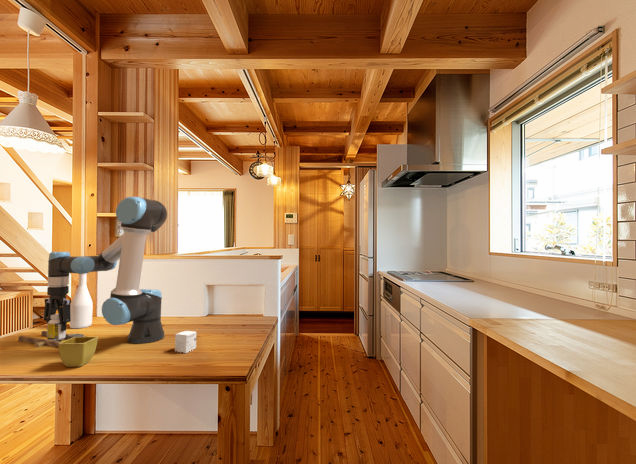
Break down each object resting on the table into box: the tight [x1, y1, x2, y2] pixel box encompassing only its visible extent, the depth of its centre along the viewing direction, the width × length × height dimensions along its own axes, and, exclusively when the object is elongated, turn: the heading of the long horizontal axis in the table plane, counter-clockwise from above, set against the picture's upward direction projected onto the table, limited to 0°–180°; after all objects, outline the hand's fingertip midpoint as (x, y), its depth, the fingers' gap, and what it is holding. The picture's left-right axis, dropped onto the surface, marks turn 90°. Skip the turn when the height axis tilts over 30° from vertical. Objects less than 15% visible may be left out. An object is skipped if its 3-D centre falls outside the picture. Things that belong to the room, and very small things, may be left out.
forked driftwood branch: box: [17, 330, 88, 348], centre depth 144 cm, size 32×15×4 cm, turn 73°
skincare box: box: [174, 330, 197, 354], centre depth 135 cm, size 6×6×7 cm
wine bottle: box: [69, 273, 94, 329], centre depth 170 cm, size 10×10×30 cm
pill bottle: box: [46, 313, 65, 341], centre depth 144 cm, size 6×6×11 cm
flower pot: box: [58, 336, 99, 368], centre depth 118 cm, size 9×9×9 cm
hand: (56, 337), depth 144 cm, fingers closed on pill bottle, 6 cm apart
